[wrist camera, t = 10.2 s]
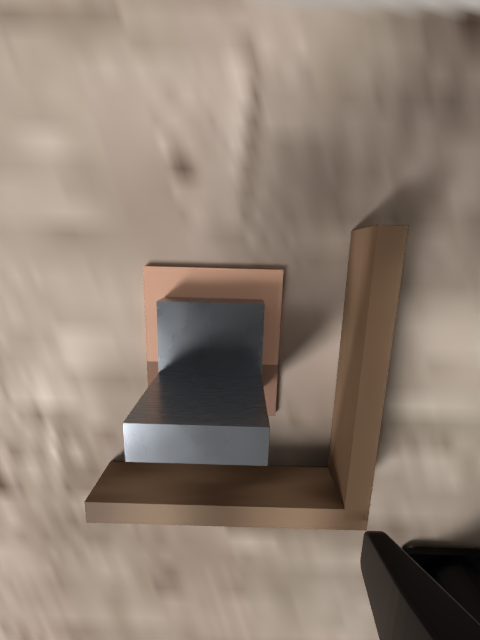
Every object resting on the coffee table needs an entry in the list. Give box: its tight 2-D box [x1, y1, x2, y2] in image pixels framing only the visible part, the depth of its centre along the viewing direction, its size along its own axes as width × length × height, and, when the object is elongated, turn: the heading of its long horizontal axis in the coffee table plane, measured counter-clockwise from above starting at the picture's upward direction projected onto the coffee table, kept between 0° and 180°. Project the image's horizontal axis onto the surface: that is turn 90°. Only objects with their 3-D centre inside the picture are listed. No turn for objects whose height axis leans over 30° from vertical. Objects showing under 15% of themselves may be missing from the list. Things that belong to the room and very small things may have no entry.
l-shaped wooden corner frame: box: [85, 225, 408, 530], centre depth 15 cm, size 14×15×3 cm
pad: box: [143, 266, 283, 416], centre depth 16 cm, size 7×8×1 cm
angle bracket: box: [123, 297, 270, 466], centre depth 13 cm, size 5×5×6 cm
